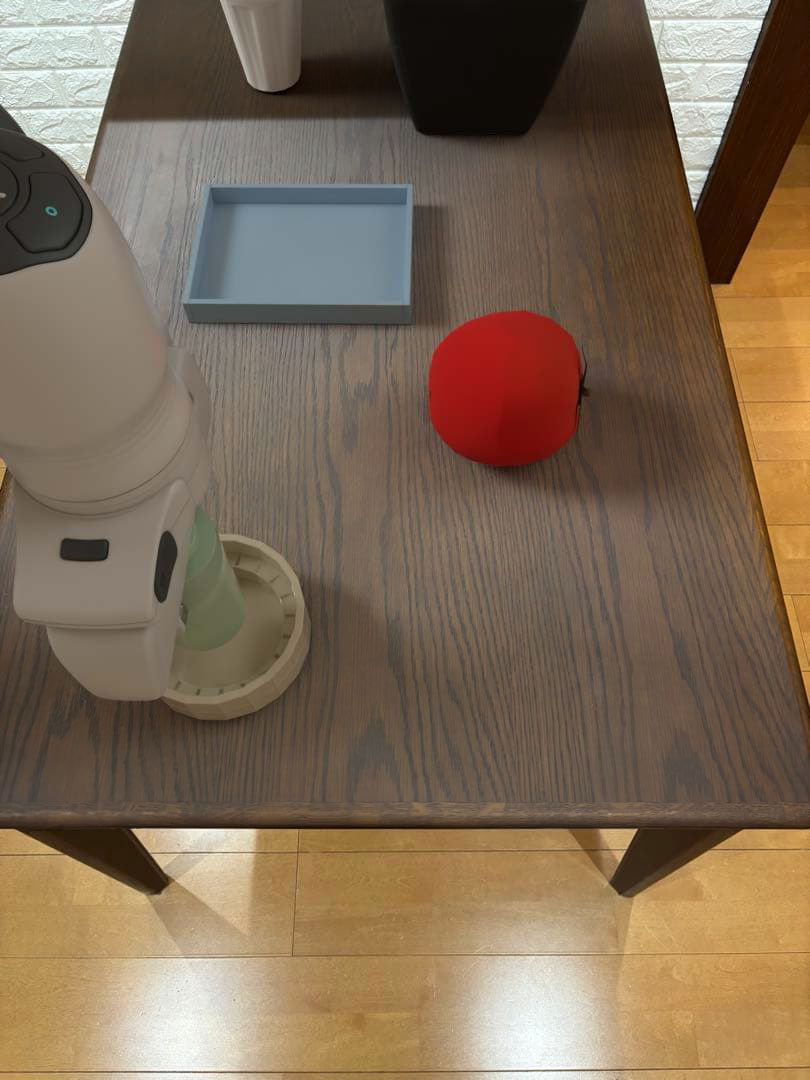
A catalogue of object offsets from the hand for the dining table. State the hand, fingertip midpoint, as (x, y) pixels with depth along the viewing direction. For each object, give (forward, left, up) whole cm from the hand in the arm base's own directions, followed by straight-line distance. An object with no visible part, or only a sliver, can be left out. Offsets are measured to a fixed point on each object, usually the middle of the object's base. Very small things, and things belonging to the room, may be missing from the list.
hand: (182, 572), depth 53 cm
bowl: (0, 0, -12) cm, 12 cm away
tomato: (+22, +20, -12) cm, 32 cm away
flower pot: (+20, +65, -12) cm, 69 cm away
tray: (+3, +40, -12) cm, 42 cm away
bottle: (0, 0, -7) cm, 7 cm away
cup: (-3, +69, -12) cm, 70 cm away
